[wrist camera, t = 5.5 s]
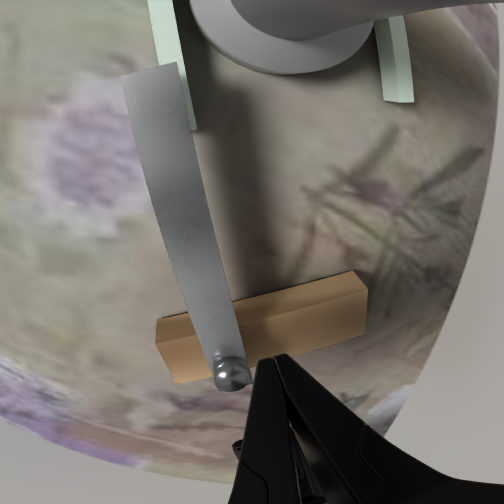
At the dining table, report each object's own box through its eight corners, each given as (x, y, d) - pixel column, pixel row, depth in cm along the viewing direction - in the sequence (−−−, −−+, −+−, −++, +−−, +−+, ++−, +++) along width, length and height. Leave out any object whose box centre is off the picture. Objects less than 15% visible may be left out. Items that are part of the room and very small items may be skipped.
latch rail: (351, 314, 17) (364, 334, 16) (175, 360, 16) (176, 384, 15) (352, 270, 16) (368, 288, 14) (157, 319, 15) (155, 343, 14)
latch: (249, 367, 15) (257, 396, 13) (217, 375, 15) (221, 404, 13) (177, 64, 8) (175, 57, 7) (126, 78, 8) (114, 75, 7)
